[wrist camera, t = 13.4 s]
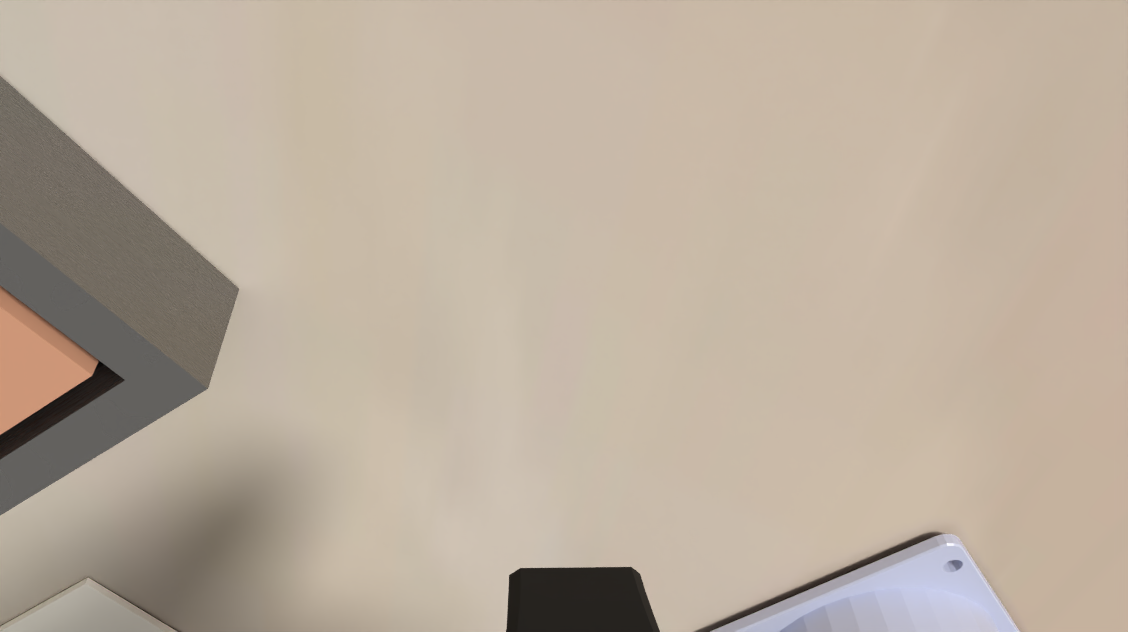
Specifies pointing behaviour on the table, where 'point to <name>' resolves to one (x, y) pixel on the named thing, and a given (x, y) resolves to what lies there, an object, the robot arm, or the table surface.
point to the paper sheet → (85, 613)
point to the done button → (34, 362)
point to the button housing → (97, 299)
